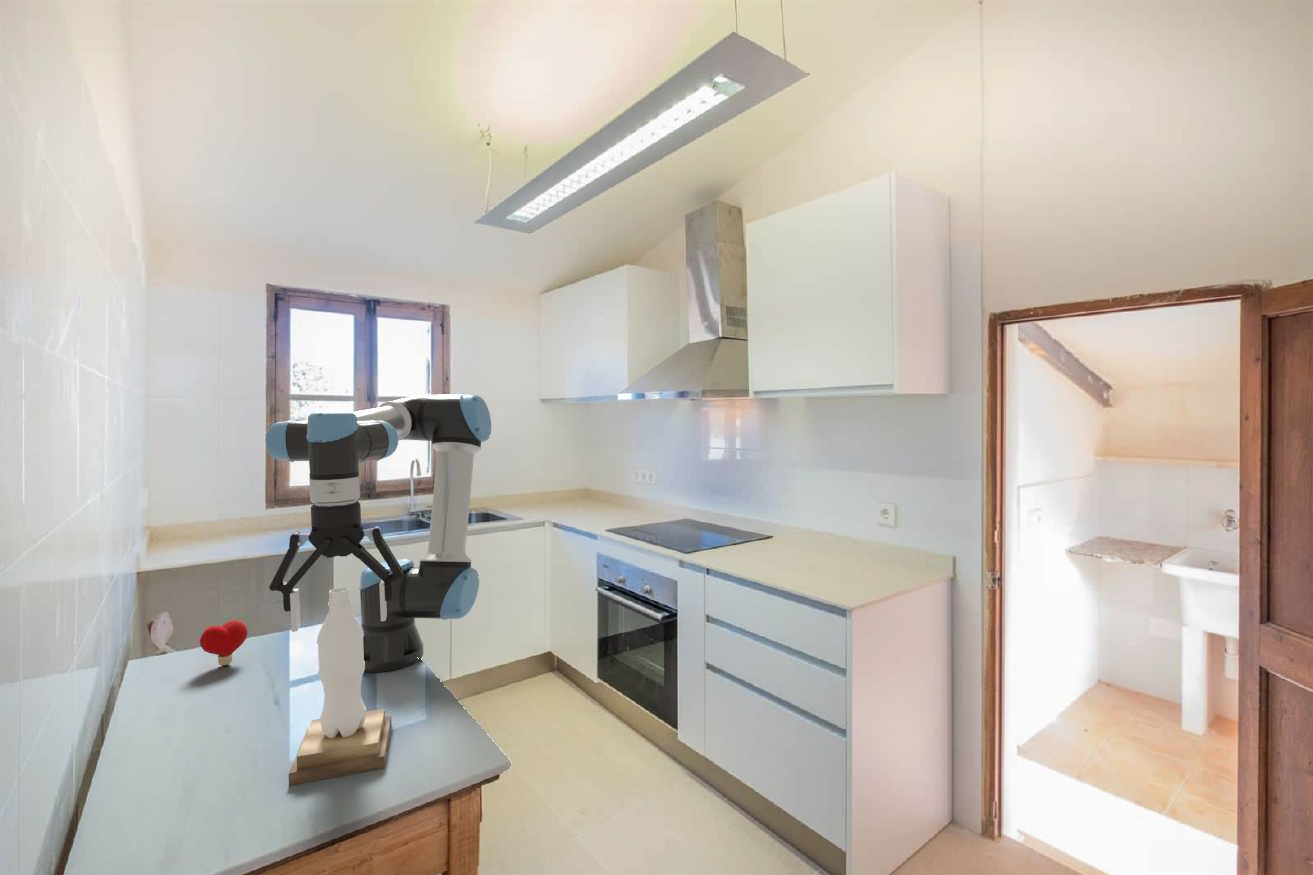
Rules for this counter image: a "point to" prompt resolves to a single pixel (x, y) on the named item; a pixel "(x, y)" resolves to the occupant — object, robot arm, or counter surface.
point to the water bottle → (341, 667)
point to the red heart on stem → (224, 640)
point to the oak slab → (341, 742)
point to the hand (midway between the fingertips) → (341, 623)
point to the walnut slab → (343, 763)
